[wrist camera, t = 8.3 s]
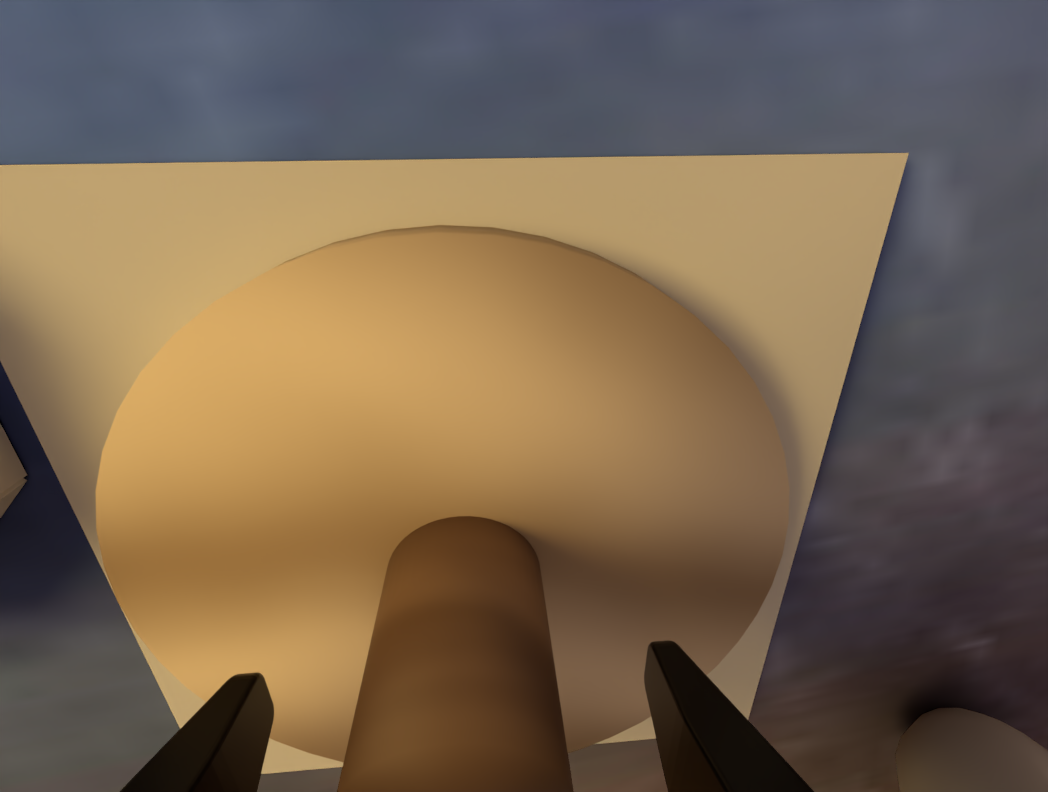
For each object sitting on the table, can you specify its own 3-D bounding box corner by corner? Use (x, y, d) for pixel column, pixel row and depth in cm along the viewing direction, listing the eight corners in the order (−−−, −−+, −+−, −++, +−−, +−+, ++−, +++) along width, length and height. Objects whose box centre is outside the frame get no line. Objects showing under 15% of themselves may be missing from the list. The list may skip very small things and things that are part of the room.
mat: (737, 713, 15) (745, 730, 15) (213, 759, 14) (205, 778, 14) (886, 152, 9) (908, 153, 8) (-61, 165, 8) (-95, 166, 7)
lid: (714, 708, 14) (825, 969, 10) (230, 752, 13) (102, 1061, 9) (829, 215, 8) (1227, 283, 4) (6, 234, 8) (-676, 347, 3)
